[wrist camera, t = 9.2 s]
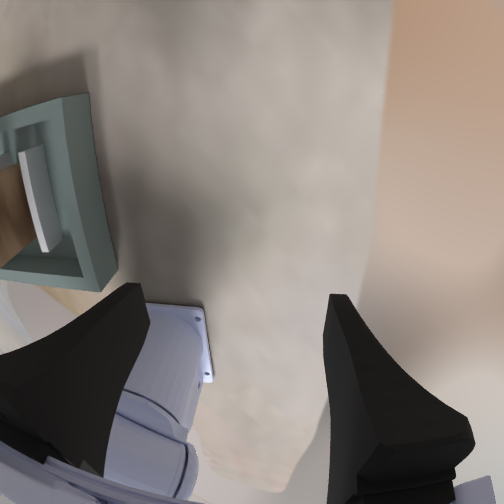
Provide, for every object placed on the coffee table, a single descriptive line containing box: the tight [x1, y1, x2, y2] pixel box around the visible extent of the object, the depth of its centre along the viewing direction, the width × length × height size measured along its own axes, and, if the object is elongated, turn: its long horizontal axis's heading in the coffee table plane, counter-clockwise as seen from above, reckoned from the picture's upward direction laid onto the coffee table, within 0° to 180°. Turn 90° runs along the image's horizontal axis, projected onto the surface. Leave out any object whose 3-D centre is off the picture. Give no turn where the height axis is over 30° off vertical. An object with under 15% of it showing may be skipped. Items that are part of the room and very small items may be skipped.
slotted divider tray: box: [0, 93, 118, 292], centre depth 20 cm, size 14×14×3 cm
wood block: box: [0, 162, 37, 269], centre depth 18 cm, size 6×2×8 cm, turn 1°
